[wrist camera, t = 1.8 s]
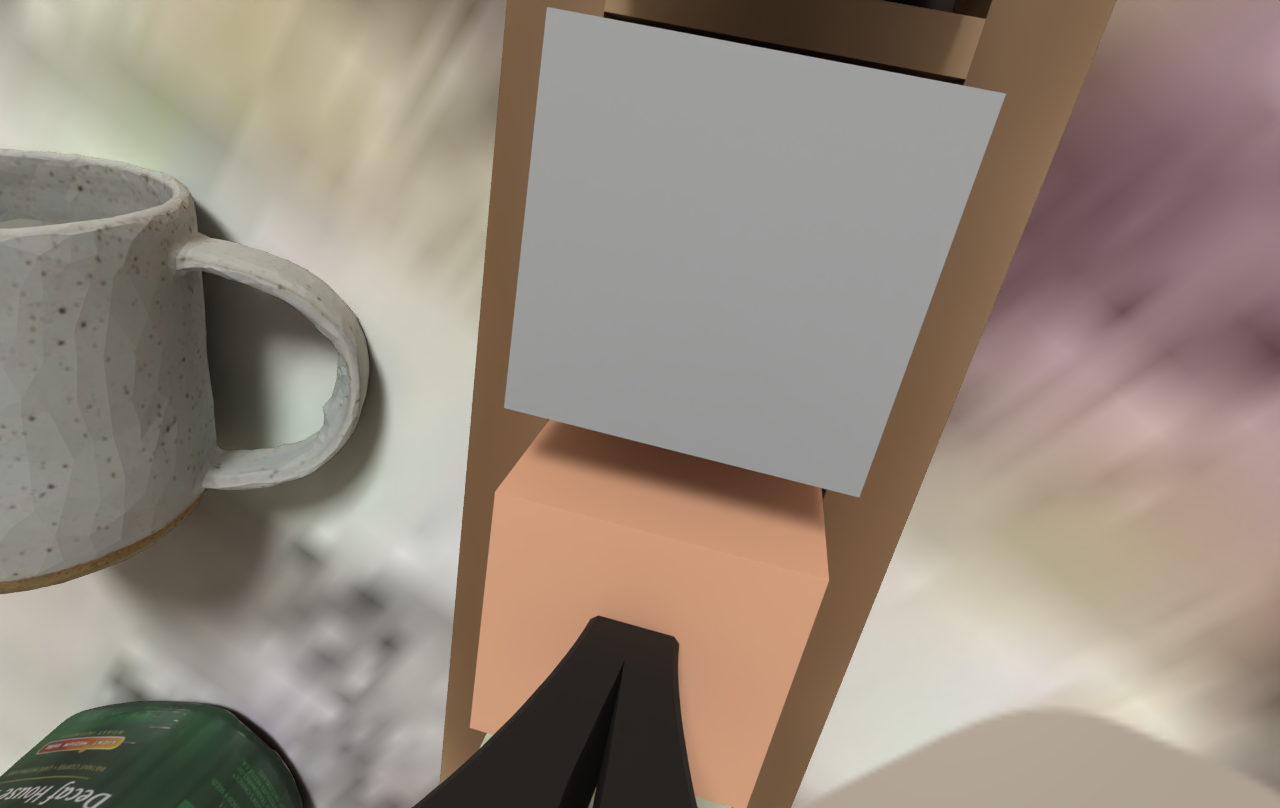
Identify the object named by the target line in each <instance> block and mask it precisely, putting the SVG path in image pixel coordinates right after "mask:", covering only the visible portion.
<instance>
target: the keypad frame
mask: <svg viewBox="0 0 1280 808" xmlns="http://www.w3.org/2000/svg"><path fill="white" fill-rule="evenodd" d="M1116 1H1117V0H956V3H955V6H954V9H953V13H949V12H944V11H938V10H933V9H927V8H921V7H916V6H910V5H905V4H899V3H893V2H888V1H882V0H507V7H506V19H505V30H504V42H503V54H502V65H501V77H500V88H499V100H498V112H497V123H496V135H495V147H494V158H493V170H492V182H491V193H490V205H489V216H488V228H487V240H486V251H485V263H484V275H483V286H482V298H481V309H480V321H479V333H478V344H477V356H476V368H475V379H474V391H473V402H472V414H471V426H470V437H469V449H468V461H467V472H466V484H465V496H464V507H463V519H462V530H461V542H460V554H459V565H458V577H457V589H456V600H455V612H454V623H453V635H452V647H451V658H450V670H449V682H448V693H447V705H446V716H445V728H444V740H443V751H442V763H441V775H440V784H441V783H442V782H443V781H445V780H446V779H447V778H448V777H449V776H450V775H451V774H453V773H454V772H455V771H456V770H457V769H458V768H459V767H460V766H461V765H463V764H464V763H465V762H466V761H467V760H468V759H469V758H470V757H471V756H472V755H473V754H474V753H476V752H477V751H478V750H479V748H480V746H481V744H482V742H483V740H484V738H485V736H486V734H487V733H485V732H482V731H479V730H475V729H472V728H470V721H471V711H472V702H473V693H474V683H475V674H476V665H477V655H478V646H479V637H480V627H481V618H482V609H483V599H484V590H485V581H486V571H487V562H488V553H489V543H490V534H491V525H492V515H493V506H494V497H495V491H496V490H497V488H498V487H499V486H500V485H501V483H502V482H503V481H504V479H505V478H506V477H507V475H508V474H509V473H510V471H511V470H512V469H513V467H514V466H515V465H516V463H517V462H518V461H519V460H520V458H521V457H522V456H523V454H524V453H525V452H526V450H527V449H528V448H529V446H530V445H531V444H532V442H533V441H534V440H535V438H536V437H537V436H538V434H539V433H540V432H541V431H542V429H543V428H544V427H545V425H546V424H547V423H548V421H549V420H550V419H546V418H542V417H538V416H534V415H530V414H526V413H522V412H518V411H514V410H510V409H506V408H504V403H505V394H506V385H507V375H508V366H509V357H510V347H511V338H512V329H513V319H514V310H515V301H516V291H517V282H518V272H519V263H520V254H521V244H522V235H523V226H524V216H525V207H526V198H527V188H528V179H529V170H530V160H531V151H532V142H533V132H534V123H535V114H536V104H537V95H538V86H539V76H540V67H541V58H542V48H543V39H544V30H545V20H546V11H547V7H550V8H555V9H561V10H566V11H571V12H577V13H582V14H587V15H592V16H598V17H603V18H608V19H614V20H619V21H624V22H629V23H635V24H640V25H645V26H651V27H656V28H661V29H667V30H672V31H677V32H682V33H688V34H693V35H698V36H704V37H709V38H714V39H719V40H725V41H730V42H735V43H741V44H746V45H751V46H757V47H762V48H767V49H772V50H778V51H783V52H788V53H794V54H799V55H804V56H809V57H815V58H820V59H825V60H831V61H836V62H841V63H847V64H852V65H857V66H862V67H868V68H873V69H878V70H884V71H889V72H894V73H899V74H905V75H910V76H915V77H921V78H926V79H931V80H937V81H942V82H947V83H952V84H958V85H963V86H968V87H974V88H979V89H984V90H989V91H995V92H1000V93H1005V94H1006V95H1005V98H1004V101H1003V104H1002V106H1001V109H1000V112H999V115H998V117H997V120H996V123H995V126H994V128H993V131H992V134H991V137H990V139H989V142H988V145H987V148H986V150H985V153H984V156H983V159H982V161H981V164H980V167H979V170H978V172H977V175H976V178H975V181H974V183H973V186H972V189H971V192H970V194H969V197H968V200H967V203H966V205H965V208H964V211H963V214H962V216H961V219H960V222H959V225H958V227H957V230H956V233H955V236H954V238H953V241H952V244H951V247H950V249H949V252H948V255H947V258H946V260H945V263H944V266H943V269H942V271H941V274H940V277H939V280H938V282H937V285H936V288H935V291H934V293H933V296H932V299H931V302H930V304H929V307H928V310H927V313H926V315H925V318H924V321H923V324H922V326H921V329H920V332H919V335H918V337H917V340H916V343H915V346H914V348H913V351H912V354H911V357H910V359H909V362H908V365H907V368H906V370H905V373H904V376H903V379H902V381H901V384H900V387H899V390H898V392H897V395H896V398H895V401H894V403H893V406H892V409H891V412H890V414H889V417H888V420H887V423H886V425H885V428H884V431H883V434H882V436H881V439H880V442H879V445H878V447H877V450H876V453H875V456H874V459H873V461H872V464H871V467H870V470H869V472H868V475H867V478H866V481H865V483H864V486H863V489H862V492H861V494H860V497H855V496H851V495H847V494H843V493H840V492H836V491H832V490H828V489H824V488H822V500H823V512H824V524H825V536H826V548H827V560H828V572H829V582H828V585H827V588H826V591H825V593H824V596H823V599H822V602H821V604H820V607H819V610H818V613H817V615H816V618H815V621H814V624H813V626H812V629H811V632H810V635H809V637H808V640H807V643H806V646H805V648H804V651H803V654H802V657H801V659H800V662H799V665H798V668H797V670H796V673H795V676H794V679H793V681H792V684H791V687H790V690H789V692H788V695H787V698H786V701H785V703H784V706H783V709H782V712H781V714H780V717H779V720H778V723H777V725H776V728H775V731H774V734H773V736H772V739H771V742H770V745H769V747H768V750H767V753H766V756H765V758H764V761H763V764H762V767H761V769H760V772H759V775H758V778H757V780H756V783H755V786H754V789H753V791H752V794H751V797H750V800H749V802H748V805H747V808H791V806H792V804H793V801H794V799H795V796H796V794H797V791H798V789H799V786H800V784H801V781H802V779H803V776H804V774H805V772H806V769H807V767H808V764H809V762H810V759H811V757H812V754H813V752H814V749H815V747H816V744H817V742H818V739H819V737H820V734H821V732H822V729H823V727H824V724H825V722H826V719H827V717H828V714H829V712H830V710H831V707H832V705H833V702H834V700H835V697H836V695H837V692H838V690H839V687H840V685H841V682H842V680H843V677H844V675H845V672H846V670H847V667H848V665H849V662H850V660H851V657H852V655H853V653H854V650H855V648H856V645H857V643H858V640H859V638H860V635H861V633H862V630H863V628H864V625H865V623H866V620H867V618H868V615H869V613H870V610H871V608H872V605H873V603H874V600H875V598H876V596H877V593H878V591H879V588H880V586H881V583H882V581H883V578H884V576H885V573H886V571H887V568H888V566H889V563H890V561H891V558H892V556H893V553H894V551H895V548H896V546H897V543H898V541H899V538H900V536H901V534H902V531H903V529H904V526H905V524H906V521H907V519H908V516H909V514H910V511H911V509H912V506H913V504H914V501H915V499H916V496H917V494H918V491H919V489H920V486H921V484H922V481H923V479H924V477H925V474H926V472H927V469H928V467H929V464H930V462H931V459H932V457H933V454H934V452H935V449H936V447H937V444H938V442H939V439H940V437H941V434H942V432H943V429H944V427H945V424H946V422H947V420H948V417H949V415H950V412H951V410H952V407H953V405H954V402H955V400H956V397H957V395H958V392H959V390H960V387H961V385H962V382H963V380H964V377H965V375H966V372H967V370H968V367H969V365H970V362H971V360H972V358H973V355H974V353H975V350H976V348H977V345H978V343H979V340H980V338H981V335H982V333H983V330H984V328H985V325H986V323H987V320H988V318H989V315H990V313H991V310H992V308H993V305H994V303H995V301H996V298H997V296H998V293H999V291H1000V288H1001V286H1002V283H1003V281H1004V278H1005V276H1006V273H1007V271H1008V268H1009V266H1010V263H1011V261H1012V258H1013V256H1014V253H1015V251H1016V248H1017V246H1018V244H1019V241H1020V239H1021V236H1022V234H1023V231H1024V229H1025V226H1026V224H1027V221H1028V219H1029V216H1030V214H1031V211H1032V209H1033V206H1034V204H1035V201H1036V199H1037V196H1038V194H1039V191H1040V189H1041V187H1042V184H1043V182H1044V179H1045V177H1046V174H1047V172H1048V169H1049V167H1050V164H1051V162H1052V159H1053V157H1054V154H1055V152H1056V149H1057V147H1058V144H1059V142H1060V139H1061V137H1062V134H1063V132H1064V129H1065V127H1066V125H1067V122H1068V120H1069V117H1070V115H1071V112H1072V110H1073V107H1074V105H1075V102H1076V100H1077V97H1078V95H1079V92H1080V90H1081V87H1082V85H1083V82H1084V80H1085V77H1086V75H1087V72H1088V70H1089V68H1090V65H1091V63H1092V60H1093V58H1094V55H1095V53H1096V50H1097V48H1098V45H1099V43H1100V40H1101V38H1102V35H1103V33H1104V30H1105V28H1106V25H1107V23H1108V20H1109V18H1110V15H1111V13H1112V11H1113V8H1114V6H1115V3H1116ZM731 808H733V807H731Z"/></svg>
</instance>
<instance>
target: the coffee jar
mask: <svg viewBox="0 0 1280 808" xmlns="http://www.w3.org/2000/svg"><path fill="white" fill-rule="evenodd" d="M0 808H303V804H302V799H301V796H300V794H299V791H298V789H297V786H296V783H295V780H294V778H293V776H292V774H291V772H290V770H289V769H288V767H287V766H286V764H285V763H284V761H283V760H282V759H281V757H280V756H279V754H278V753H277V752H276V751H275V750H273V749H271V748H270V747H269V746H268V745H266V743H265V742H264V741H263V740H261V739H260V738H259V737H258V736H257V735H256V734H255V733H254V732H253V731H252V730H250V729H249V728H248V727H247V726H246V725H245V724H243V723H242V722H241V721H240V720H239V719H238V718H237V717H236V716H235V715H234V714H232V713H231V712H229V711H227V710H226V709H222V708H219V707H216V706H213V705H208V704H200V703H187V702H167V701H150V702H143V701H138V702H129V703H121V704H113V705H107V706H102V707H97V708H93V709H89V710H85V711H82V712H80V713H77V714H75V715H73V716H71V717H69V718H68V719H66V720H65V721H64V722H63V723H61V724H60V725H59V726H58V727H57V728H56V729H54V730H53V731H52V732H51V733H50V734H49V735H47V736H46V737H45V738H44V739H43V740H42V741H40V742H39V743H38V744H37V745H36V746H35V747H34V748H32V749H31V750H30V751H29V752H28V753H27V754H25V755H24V756H23V757H22V758H21V759H20V760H19V761H17V762H16V763H15V764H14V765H13V766H12V767H11V768H10V769H9V770H7V771H6V772H5V773H4V774H3V775H2V776H1V777H0Z"/></svg>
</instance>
